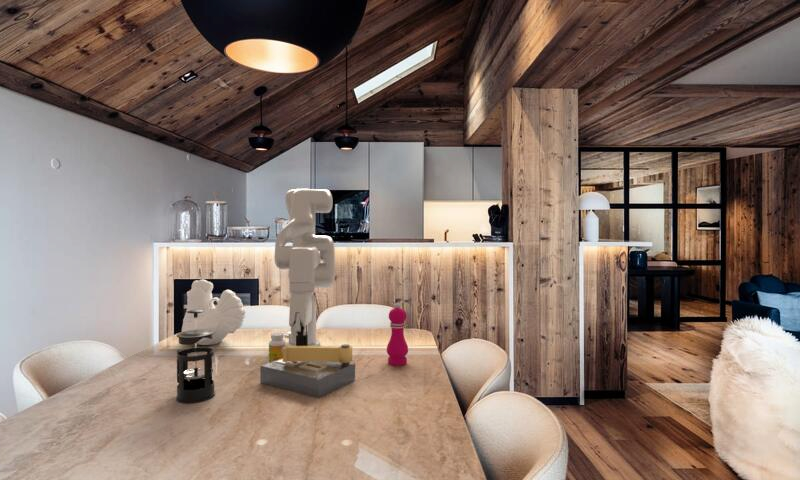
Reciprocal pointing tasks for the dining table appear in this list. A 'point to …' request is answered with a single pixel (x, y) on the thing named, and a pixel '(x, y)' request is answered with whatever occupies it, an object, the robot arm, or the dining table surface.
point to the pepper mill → (397, 337)
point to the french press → (196, 380)
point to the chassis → (307, 376)
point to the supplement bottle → (276, 347)
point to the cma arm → (318, 353)
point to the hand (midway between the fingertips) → (301, 347)
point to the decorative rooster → (213, 312)
